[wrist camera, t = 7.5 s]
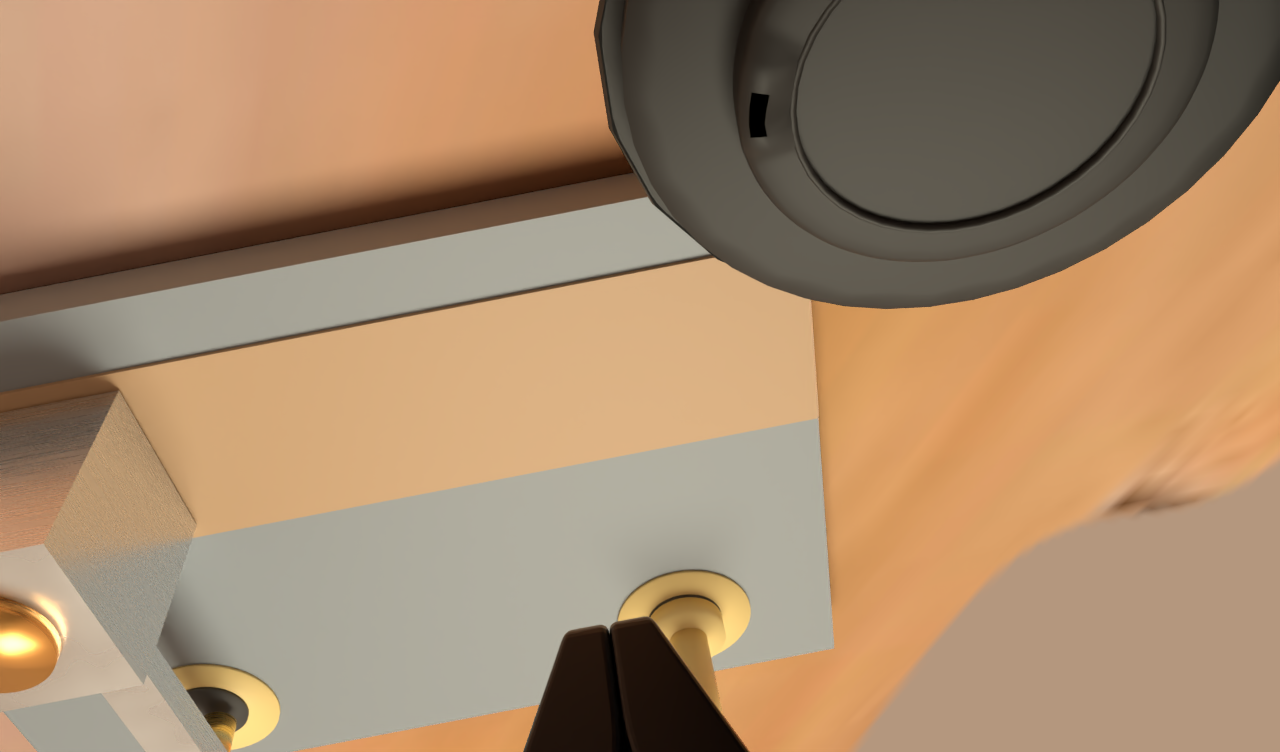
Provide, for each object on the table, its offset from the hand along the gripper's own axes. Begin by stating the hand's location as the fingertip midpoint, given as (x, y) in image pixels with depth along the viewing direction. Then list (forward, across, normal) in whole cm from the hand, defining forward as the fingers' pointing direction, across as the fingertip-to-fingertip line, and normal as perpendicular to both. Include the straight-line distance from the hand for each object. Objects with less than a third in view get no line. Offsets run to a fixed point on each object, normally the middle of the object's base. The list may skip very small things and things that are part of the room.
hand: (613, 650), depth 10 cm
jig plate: (+14, +6, +9) cm, 17 cm away
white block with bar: (+13, +11, +9) cm, 19 cm away
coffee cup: (+14, -6, -5) cm, 16 cm away
